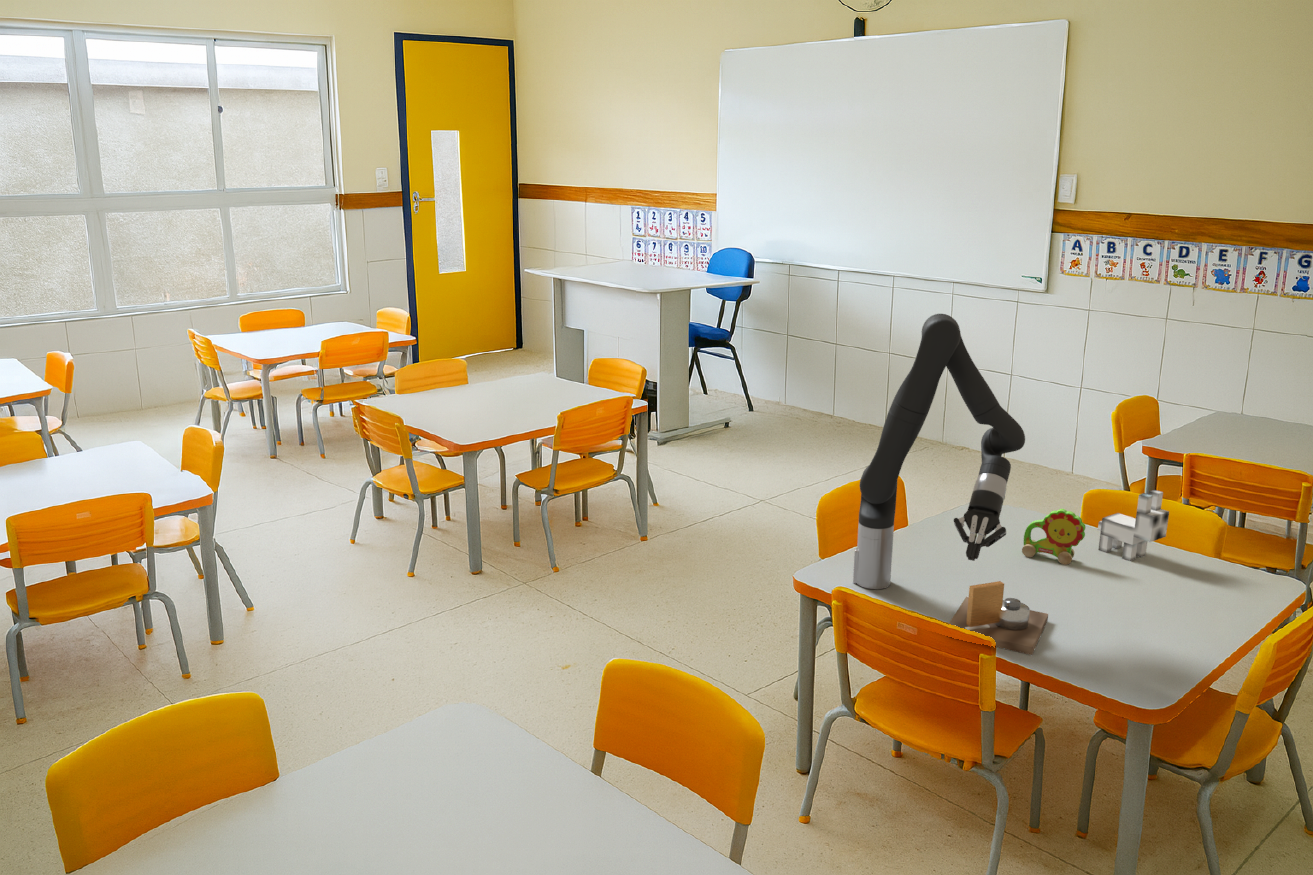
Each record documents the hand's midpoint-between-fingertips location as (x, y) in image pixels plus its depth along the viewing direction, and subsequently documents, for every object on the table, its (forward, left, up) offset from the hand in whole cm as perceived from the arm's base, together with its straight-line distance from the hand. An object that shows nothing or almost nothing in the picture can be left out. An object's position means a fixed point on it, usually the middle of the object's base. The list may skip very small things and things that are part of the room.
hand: (971, 558), depth 236 cm
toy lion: (+11, +57, -19) cm, 61 cm away
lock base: (+7, +5, -18) cm, 20 cm away
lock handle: (+7, +2, -16) cm, 18 cm away
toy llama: (+29, +71, -19) cm, 78 cm away
